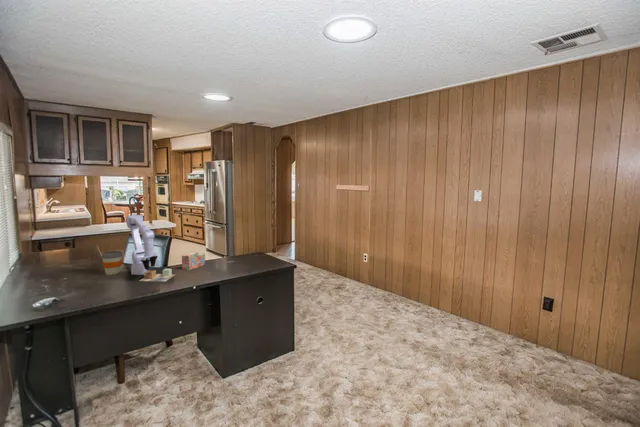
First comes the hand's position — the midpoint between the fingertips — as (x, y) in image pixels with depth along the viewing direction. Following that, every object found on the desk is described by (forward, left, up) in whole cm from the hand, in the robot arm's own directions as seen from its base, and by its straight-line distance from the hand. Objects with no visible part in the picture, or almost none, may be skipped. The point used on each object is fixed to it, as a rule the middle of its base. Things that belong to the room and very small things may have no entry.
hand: (149, 267), depth 222 cm
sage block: (+9, +6, -7) cm, 13 cm away
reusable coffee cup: (-35, +13, -8) cm, 38 cm away
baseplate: (+5, +1, -8) cm, 10 cm away
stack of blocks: (+18, +31, -9) cm, 37 cm away
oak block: (0, 0, -7) cm, 7 cm away
